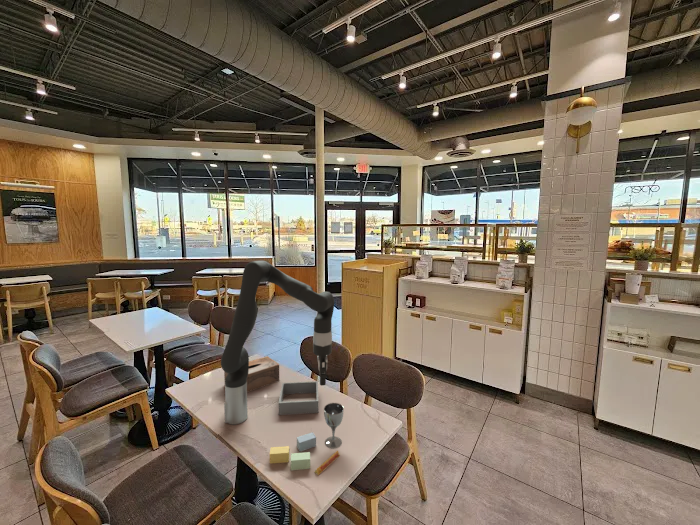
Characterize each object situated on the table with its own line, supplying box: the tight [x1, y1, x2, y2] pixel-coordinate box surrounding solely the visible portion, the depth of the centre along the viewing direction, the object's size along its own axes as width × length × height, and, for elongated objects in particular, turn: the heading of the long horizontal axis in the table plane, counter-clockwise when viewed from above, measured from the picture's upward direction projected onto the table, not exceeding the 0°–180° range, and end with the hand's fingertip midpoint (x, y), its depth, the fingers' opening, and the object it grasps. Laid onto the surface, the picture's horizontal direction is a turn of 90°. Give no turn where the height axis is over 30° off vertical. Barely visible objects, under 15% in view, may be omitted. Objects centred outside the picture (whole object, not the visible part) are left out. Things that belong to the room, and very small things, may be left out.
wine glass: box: [323, 402, 345, 450], centre depth 124 cm, size 8×8×15 cm
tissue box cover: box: [223, 355, 280, 393], centre depth 170 cm, size 26×14×10 cm, turn 132°
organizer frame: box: [278, 380, 319, 416], centre depth 152 cm, size 19×19×6 cm
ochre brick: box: [269, 445, 290, 464], centre depth 115 cm, size 7×4×4 cm, turn 97°
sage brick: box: [290, 451, 311, 471], centre depth 112 cm, size 7×4×4 cm, turn 98°
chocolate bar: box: [314, 450, 341, 476], centre depth 113 cm, size 3×12×2 cm, turn 142°
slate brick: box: [296, 431, 317, 453], centre depth 122 cm, size 7×4×4 cm, turn 118°
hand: (322, 379), depth 124 cm, fingers open, 8 cm apart
